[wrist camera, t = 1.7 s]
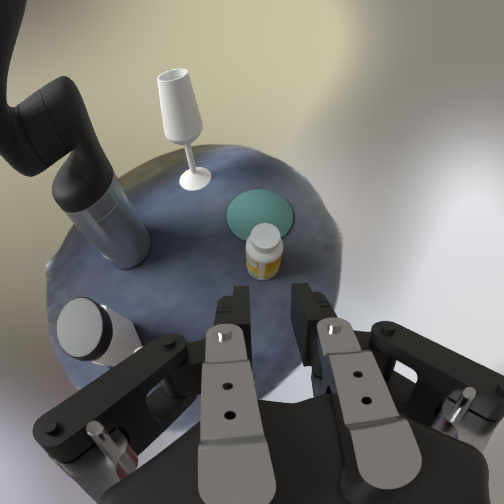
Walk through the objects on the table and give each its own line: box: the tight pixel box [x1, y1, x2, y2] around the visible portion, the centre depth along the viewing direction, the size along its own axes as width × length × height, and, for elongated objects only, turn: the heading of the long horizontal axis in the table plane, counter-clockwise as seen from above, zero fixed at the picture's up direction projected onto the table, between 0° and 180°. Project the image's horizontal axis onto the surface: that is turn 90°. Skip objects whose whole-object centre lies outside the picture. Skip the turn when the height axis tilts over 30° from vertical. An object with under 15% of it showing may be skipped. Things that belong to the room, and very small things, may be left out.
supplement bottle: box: [246, 223, 283, 280], centre depth 41 cm, size 5×5×10 cm
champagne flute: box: [157, 69, 211, 191], centre depth 44 cm, size 7×7×24 cm
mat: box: [227, 189, 293, 242], centre depth 49 cm, size 12×12×1 cm
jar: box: [56, 297, 142, 367], centre depth 33 cm, size 9×8×12 cm
